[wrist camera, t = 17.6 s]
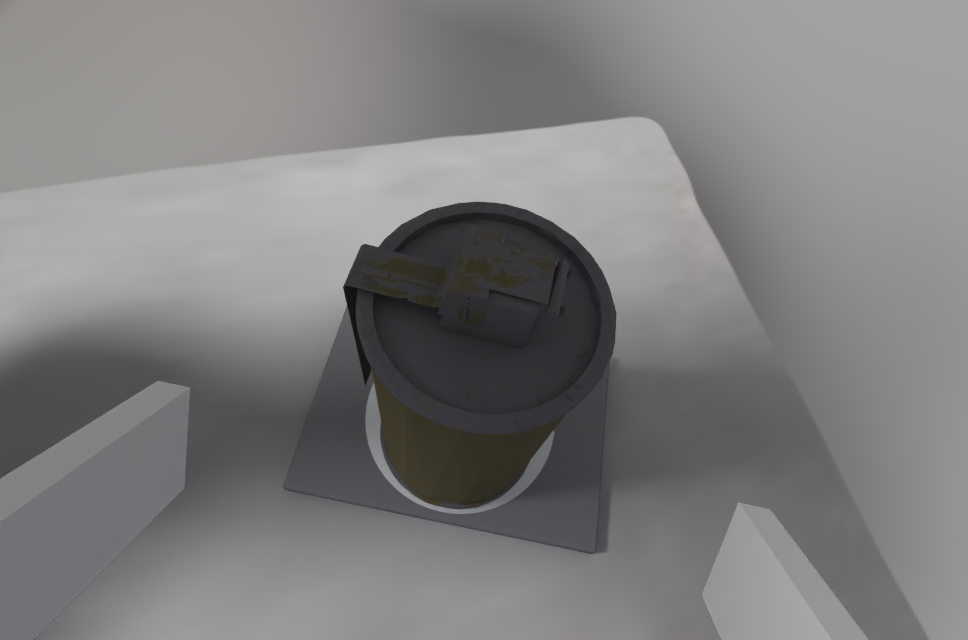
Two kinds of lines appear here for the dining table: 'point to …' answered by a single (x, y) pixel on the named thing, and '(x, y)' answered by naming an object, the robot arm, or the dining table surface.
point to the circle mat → (369, 482)
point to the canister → (476, 344)
